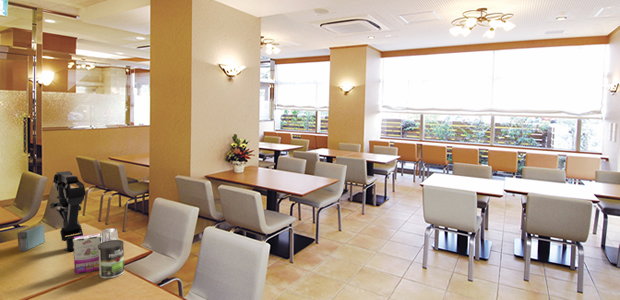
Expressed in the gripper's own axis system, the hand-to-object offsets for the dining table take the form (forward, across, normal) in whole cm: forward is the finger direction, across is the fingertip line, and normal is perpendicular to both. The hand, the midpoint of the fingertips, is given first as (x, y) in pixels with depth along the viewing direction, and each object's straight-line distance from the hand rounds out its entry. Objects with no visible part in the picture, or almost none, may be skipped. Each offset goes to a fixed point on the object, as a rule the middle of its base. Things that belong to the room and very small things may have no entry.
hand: (66, 221), depth 194 cm
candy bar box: (+12, -42, +14) cm, 46 cm away
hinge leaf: (+12, +9, +13) cm, 19 cm away
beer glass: (+12, -40, +2) cm, 42 cm away
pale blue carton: (+12, +10, +13) cm, 20 cm away
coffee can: (+12, -54, +11) cm, 56 cm away
